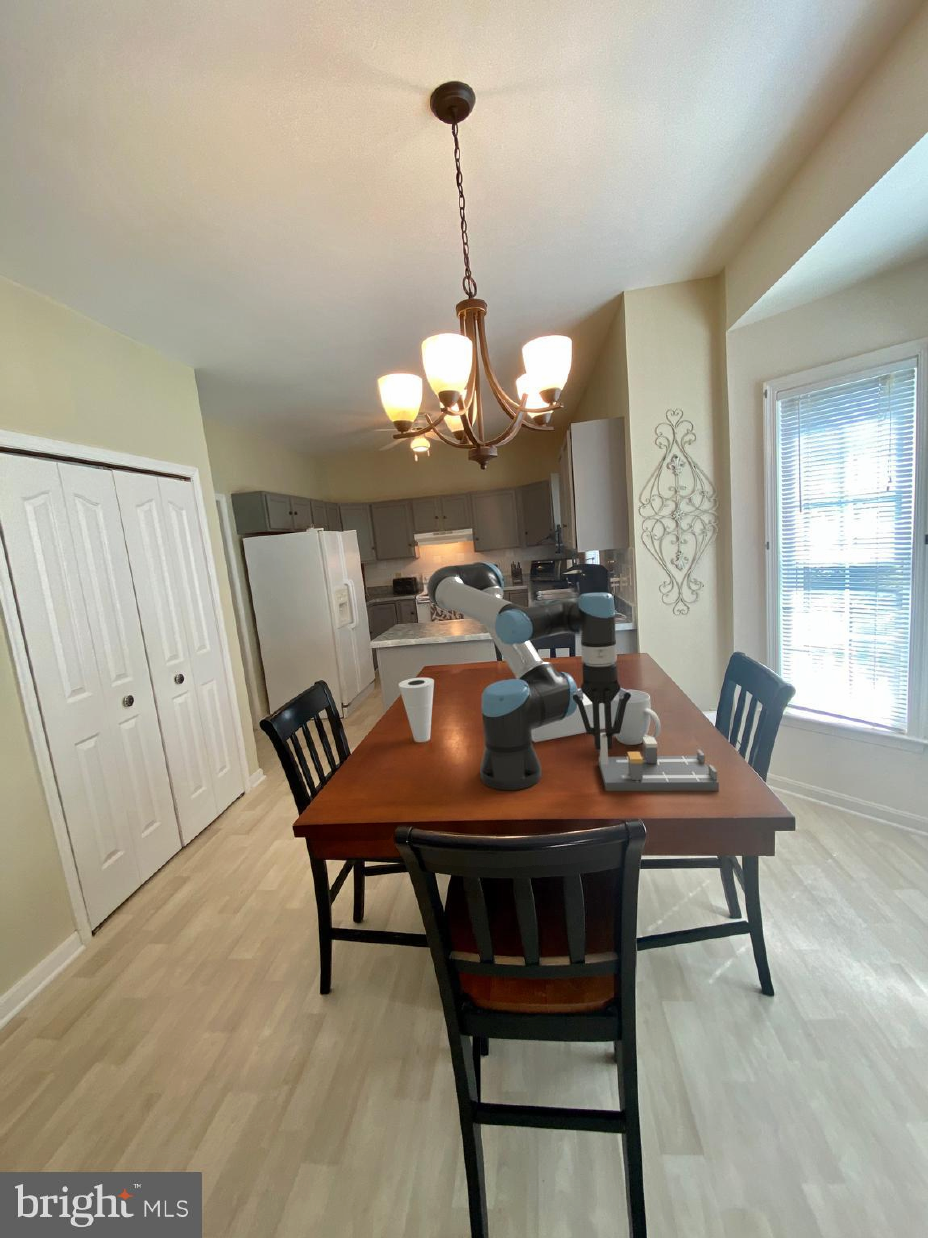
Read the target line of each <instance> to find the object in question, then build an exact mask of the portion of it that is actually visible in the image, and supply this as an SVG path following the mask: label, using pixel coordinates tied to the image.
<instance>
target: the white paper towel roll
mask: <svg viewBox="0 0 928 1238" xmlns="http://www.w3.org/2000/svg"><path fill="white" fill-rule="evenodd" d="M434 685H435V680H434V679H433V678H431V677H414V678H413V677H412V678H408V679H405V680H403V681H400V682H399V683H398V687H399V691H400V694H401V697H402V701H403V704H404V710H405V713H406V716H407V719H408V722H409V727H410V730H411V733H412V737H413V740H414V742H416V743H426V742H428V741H429V740H430V739H431V730H432V727H431V726H432V714H433V713H432V712H433V703H434V702H433V699H434V687H435V686H434Z"/></svg>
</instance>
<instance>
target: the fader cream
mask: <svg viewBox="0 0 928 1238" xmlns="http://www.w3.org/2000/svg"><path fill="white" fill-rule="evenodd" d="M642 743H643V744H642V745H643V747H642V748H643V750H642V751H643V756H644V758H645V760H646V762H647V763H657V756H658V748H659V747H658V746H659V745H658V742H657V741H656V738H654V737H643V742H642Z"/></svg>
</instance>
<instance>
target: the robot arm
mask: <svg viewBox="0 0 928 1238" xmlns="http://www.w3.org/2000/svg"><path fill="white" fill-rule="evenodd" d="M429 577H430V578H429V579H428V582H427V586H426V590H427V595H428V598H429V600H430V601H431V603H432V604H434V605H435V606H436V607H438V608H440V609H442V610H444V611H455V612H457V613H459V614H461V615H463V616H465V617H468V618H470V619H471V620H474V621H476V622H478V623H480V624H483V626H484V628H485V630H486V631H487V632H488V634H489V636H490V637H491V639H492V641H493V643H494V644H495V646H496V647H497V649H498V651H499V652H500V654H501V655H502V657H503V658H504V661H506V664H507V666H508V667H509V668H510V670H511V672H512V673H513V675H514V677H515V678H508V679H507V680H506V679H501V680H499V681H496V682H493V683H491V684H489V685H487V687H485V688H484V689H483V691H482V694H481V707H480V710H481V713H482V722H483V736H484V747H485V748H484V751H483V756H482V760H481V764H480V769H479V773H480V780H481V782H482V783H483V784H484V785H486V786H487V787H489V788H492V789H494V790H495V789H496V790H500V791H518V790H524V789H527V788H530V787H532V786H534V785H536V784H537V783H538V782H539V781H540V780H541V778H542V766H541V763H540V759H539V758H538V755H537V752H536V751H535V748H534V746H533V740H532V732H531V731H532V730H533V729H536V728H538V727H541V726H544V725H547V724H550V723H553V722H555V721H560V720H563V719H564V718H566V717H568V716H570V715H572V714H573V713H574V712H575V710H576V708H577V706H578V707H579V710H580V713H581V716H582V720H583V723H584V726H585V729H586V732H585V733H586V734H587V735H591V736H593V739H594V740H593V741H594V742H593V743H594V748H595V750H598V751H599V757H600V761H601V764H602V765H608V757H609V751H608V750H613V737H614V736H615V735H614V734H619V733H620V731H621V726H622V722H623V717H624V713H625V708H626V704H627V702H628V700H629V699H630V697H631V694H630V692H629V691H628V690H629V689H624V688H623V687H621V684H620V682H619V679H618V664H617V663H616V661H618V660H617V659H618V656H617V638H616V613H617V611H616V607H615V600H614V596H613V595H612V594H611V593H609V592H587V593H582V594H580V595H579V597H578V601H577V600H563V599H550V600H547V601H546V602H544V603H543V604H537V605H532V606H526V607H525V606H523V605H519V604H516V603H513V602H511V601H509V600H506V599H503V597H504V589H505V581H503V579H504V577H503V574H502V572H501V571H500V569H499V568H498V567H497V566H496V564H493V563H491V562H485V561H484V562H481V561H478V562H477V561H476V562H473V563H467V564H466V563H464V564H457V565H447V566H442V567H440V568H439V569H436V571H434V572H433V574H432V575H431V576H429ZM567 633H568V634H576V635H579V636H580V645H581V646H580V648H581V661H582V662H583V664H582V665H581V666H582V684H581V685H580V688H578V685H577V683H576V681H575V680H574V677H572V675H571V674H569V673H567V672H564V671H559V672H558V671H557V669H556V668H555V666H554V665H553V663H551V662H550V661H549V662H548V661H544V660H543V659H542V658H541V656H540V654H539V653H538V651H537V650H536V648H535V647H534V645H533V644H532V642H531V641H534V640H535V641H536V640H539V639H542V638H548V637H551V636H556V635H560V634H567ZM578 689H580V690H578ZM618 692H619V702H618V707H617V711H616V716H615V721H614V725H613V727H612V720H611V702H612V701H613V699H614V698H615V696H616V695H617V694H618ZM583 694H585V695H586V696H587V698H588V699H589V700H590V701H591V702H592V707H593V728H592V727H590V723H589V720H588V717H587V714H586V711H585V708H584V704H583V701H582V700H583V699H584V697H583ZM600 703H604V716H605V729H604V731H605V732H601V729H600V717H599V704H600Z"/></svg>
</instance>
